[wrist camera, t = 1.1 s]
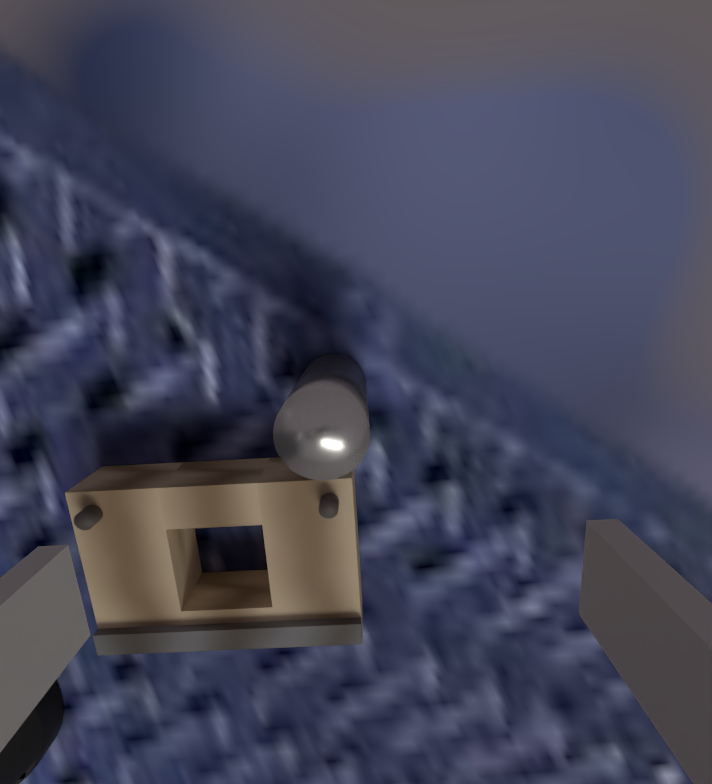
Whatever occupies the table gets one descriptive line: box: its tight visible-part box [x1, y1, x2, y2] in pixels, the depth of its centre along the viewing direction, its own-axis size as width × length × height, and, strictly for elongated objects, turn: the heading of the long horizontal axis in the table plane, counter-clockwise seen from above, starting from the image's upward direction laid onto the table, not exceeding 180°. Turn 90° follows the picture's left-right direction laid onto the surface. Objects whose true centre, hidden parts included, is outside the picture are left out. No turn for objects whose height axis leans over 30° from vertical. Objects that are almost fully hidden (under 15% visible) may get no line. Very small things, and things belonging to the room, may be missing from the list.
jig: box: [65, 457, 362, 655], centre depth 29 cm, size 18×12×5 cm, turn 93°
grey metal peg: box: [273, 354, 370, 480], centre depth 24 cm, size 4×4×10 cm
